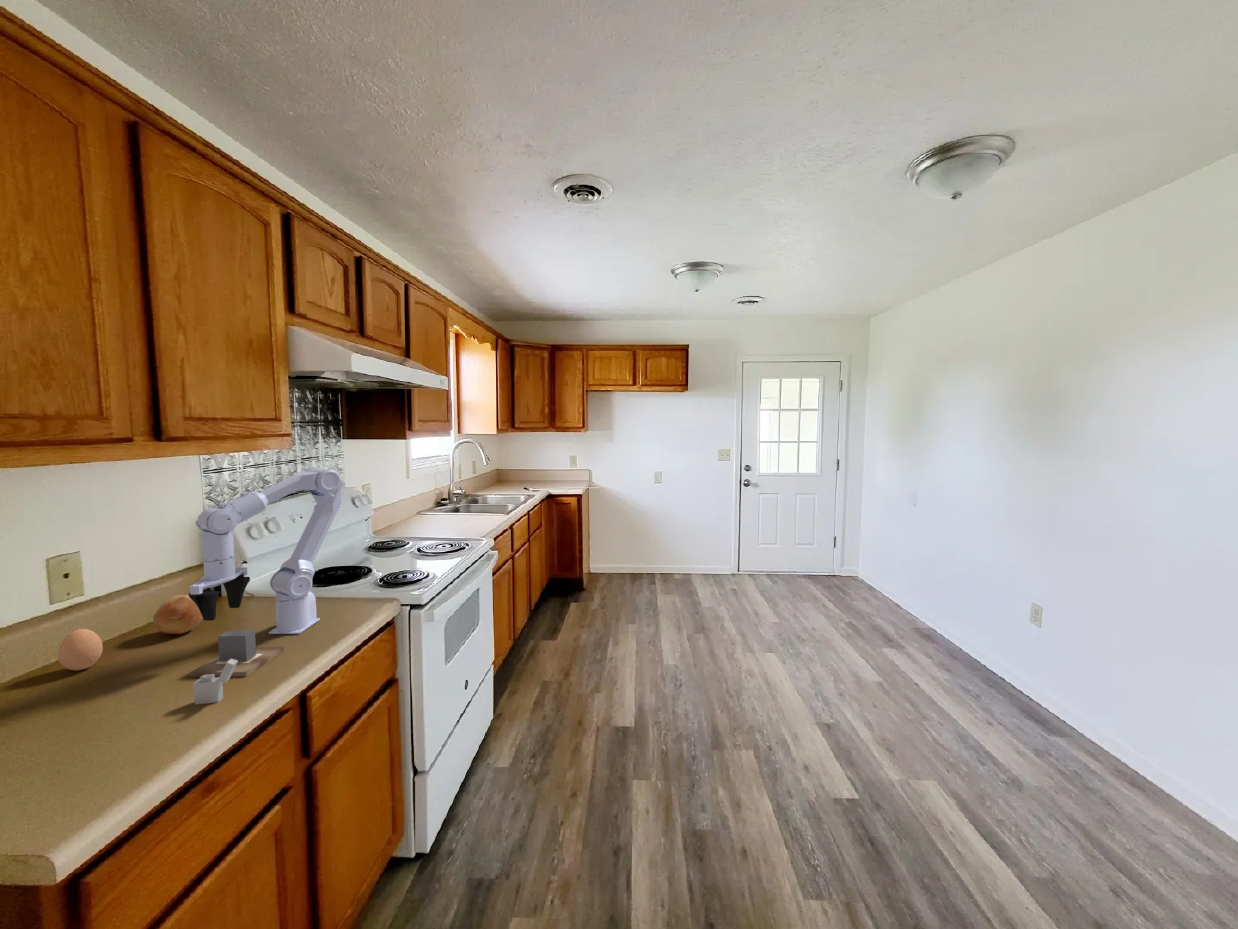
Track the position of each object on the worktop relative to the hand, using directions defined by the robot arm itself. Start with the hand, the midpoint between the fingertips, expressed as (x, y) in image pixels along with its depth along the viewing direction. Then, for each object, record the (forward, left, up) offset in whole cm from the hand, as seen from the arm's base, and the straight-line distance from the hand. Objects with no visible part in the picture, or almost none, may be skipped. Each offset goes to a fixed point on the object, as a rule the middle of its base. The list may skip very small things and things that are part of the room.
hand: (222, 613), depth 114 cm
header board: (+6, +8, -9) cm, 14 cm away
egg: (+8, -25, -10) cm, 28 cm away
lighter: (+21, +15, -10) cm, 28 cm away
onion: (-11, -20, -10) cm, 25 cm away
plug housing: (+6, +8, -8) cm, 13 cm away
